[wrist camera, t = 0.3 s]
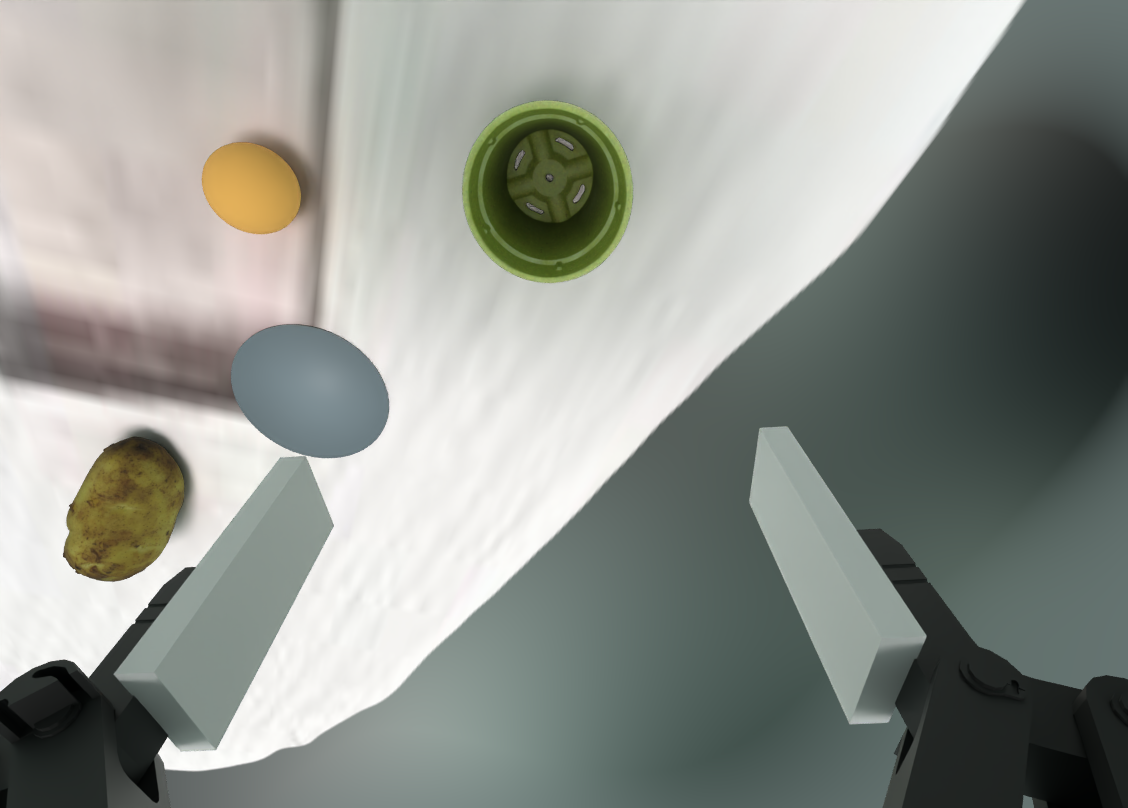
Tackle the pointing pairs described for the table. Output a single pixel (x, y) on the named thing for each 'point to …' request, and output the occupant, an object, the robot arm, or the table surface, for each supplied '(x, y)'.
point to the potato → (124, 511)
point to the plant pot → (547, 191)
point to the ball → (251, 188)
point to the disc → (310, 391)
